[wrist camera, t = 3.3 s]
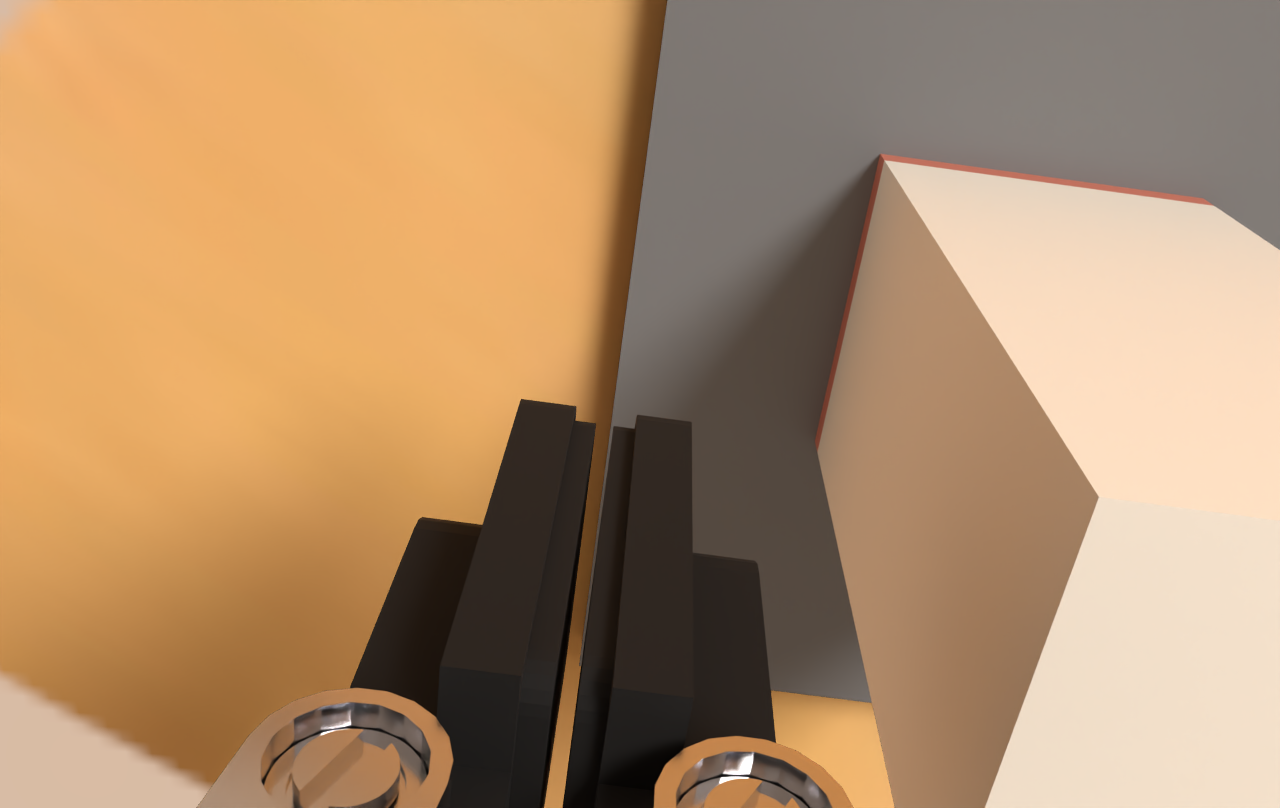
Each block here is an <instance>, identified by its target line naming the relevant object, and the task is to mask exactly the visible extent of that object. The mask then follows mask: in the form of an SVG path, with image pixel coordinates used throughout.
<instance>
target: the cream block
mask: <svg viewBox="0 0 1280 808" xmlns="http://www.w3.org/2000/svg"><path fill="white" fill-rule="evenodd" d="M815 444H816V449H817V453H818V458H819V462H820V467H821V472H822V476H823V481H824V485H825V490H826V494H827V499H828V504H829V508H830V513H831V517H832V522H833V527H834V531H835V536H836V540H837V545H838V550H839V554H840V559H841V563H842V568H843V572H844V577H845V582H846V586H847V591H848V595H849V600H850V605H851V609H852V614H853V618H854V623H855V628H856V632H857V637H858V641H859V646H860V650H861V655H862V660H863V664H864V669H865V673H866V678H867V683H868V687H869V692H870V696H871V701H872V706H873V710H874V715H875V719H876V724H877V728H878V733H879V738H880V742H881V747H882V751H883V756H884V761H885V765H886V770H887V774H888V779H889V784H890V788H891V793H892V797H893V802H894V806H895V808H1280V250H1279V249H1277V248H1276V247H1274V246H1273V245H1271V244H1270V243H1269V242H1267V241H1266V240H1264V239H1263V238H1261V237H1260V236H1258V235H1257V234H1255V233H1254V232H1252V231H1251V230H1249V229H1248V228H1246V227H1245V226H1243V225H1242V224H1240V223H1239V222H1237V221H1236V220H1234V219H1233V218H1232V217H1230V216H1229V215H1227V214H1226V213H1224V212H1223V211H1221V210H1220V209H1218V208H1217V207H1215V206H1214V205H1212V204H1211V203H1209V202H1208V201H1206V200H1205V199H1203V198H1197V197H1190V196H1182V195H1175V194H1168V193H1161V192H1153V191H1146V190H1139V189H1132V188H1125V187H1117V186H1110V185H1103V184H1096V183H1088V182H1081V181H1074V180H1067V179H1060V178H1052V177H1045V176H1038V175H1031V174H1023V173H1016V172H1009V171H1002V170H994V169H987V168H980V167H973V166H966V165H958V164H951V163H944V162H937V161H929V160H922V159H915V158H908V157H900V156H893V155H886V154H880V157H879V161H878V166H877V170H876V174H875V179H874V183H873V188H872V192H871V196H870V201H869V205H868V210H867V214H866V218H865V223H864V227H863V232H862V236H861V240H860V245H859V249H858V254H857V258H856V262H855V267H854V271H853V276H852V280H851V284H850V289H849V293H848V298H847V302H846V306H845V311H844V315H843V320H842V324H841V328H840V333H839V337H838V342H837V346H836V350H835V355H834V359H833V364H832V368H831V372H830V377H829V381H828V386H827V390H826V394H825V399H824V403H823V408H822V412H821V416H820V421H819V425H818V430H817V434H816V438H815Z"/></svg>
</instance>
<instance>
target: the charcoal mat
mask: <svg viewBox="0 0 1280 808" xmlns="http://www.w3.org/2000/svg"><path fill="white" fill-rule="evenodd" d="M880 154H886V155H893V156H900V157H908V158H915V159H922V160H929V161H937V162H944V163H951V164H958V165H966V166H973V167H980V168H987V169H994V170H1002V171H1009V172H1016V173H1023V174H1031V175H1038V176H1045V177H1052V178H1060V179H1067V180H1074V181H1081V182H1088V183H1096V184H1103V185H1110V186H1117V187H1125V188H1132V189H1139V190H1146V191H1153V192H1161V193H1168V194H1175V195H1182V196H1190V197H1197V198H1203V199H1205V200H1206V201H1208V202H1209V203H1211V204H1212V205H1214V206H1215V207H1217V208H1218V209H1220V210H1221V211H1223V212H1224V213H1226V214H1227V215H1229V216H1230V217H1232V218H1233V219H1234V220H1236V221H1237V222H1239V223H1240V224H1242V225H1243V226H1245V227H1246V228H1248V229H1249V230H1251V231H1252V232H1254V233H1255V234H1257V235H1258V236H1260V237H1261V238H1263V239H1264V240H1266V241H1267V242H1269V243H1270V244H1271V245H1273V246H1274V247H1276V248H1277V249H1279V250H1280V0H667V7H666V14H665V22H664V29H663V37H662V44H661V52H660V60H659V67H658V75H657V82H656V90H655V97H654V105H653V112H652V120H651V127H650V135H649V142H648V150H647V158H646V165H645V173H644V180H643V188H642V195H641V203H640V210H639V218H638V225H637V233H636V240H635V248H634V256H633V263H632V271H631V278H630V286H629V293H628V301H627V308H626V316H625V323H624V331H623V338H622V346H621V354H620V361H619V369H618V376H617V384H616V391H615V399H614V406H613V414H612V421H611V429H610V436H609V444H608V452H607V459H606V467H605V474H604V482H603V489H602V497H601V504H600V512H599V519H598V527H597V534H596V542H595V550H594V557H593V565H592V572H591V580H590V587H589V595H588V602H587V610H586V617H585V625H584V632H583V640H582V648H581V655H580V663H579V666H581V664H582V657H583V649H584V642H585V634H586V627H587V619H588V612H589V604H590V597H591V590H592V582H593V575H594V567H595V560H596V553H597V545H598V538H599V530H600V523H601V515H602V508H603V501H604V493H605V486H606V478H607V471H608V463H609V456H610V449H611V441H612V434H613V427H614V426H618V427H625V428H633V429H635V423H636V417H637V415H644V416H652V417H659V418H667V419H674V420H682V421H689V422H692V524H693V553H700V554H708V555H716V556H723V557H731V558H739V559H746V560H754V561H756V563H757V564H758V569H759V576H760V586H761V596H762V606H763V617H764V627H765V637H766V647H767V657H768V668H769V678H770V688H771V690H774V691H781V692H789V693H797V694H805V695H813V696H821V697H829V698H837V699H845V700H853V701H861V702H869V703H872V701H871V696H870V692H869V687H868V683H867V678H866V673H865V669H864V664H863V660H862V655H861V650H860V646H859V641H858V637H857V632H856V628H855V623H854V618H853V614H852V609H851V605H850V600H849V595H848V591H847V586H846V582H845V577H844V572H843V568H842V563H841V559H840V554H839V550H838V545H837V540H836V536H835V531H834V527H833V522H832V517H831V513H830V508H829V504H828V499H827V494H826V490H825V485H824V481H823V476H822V472H821V467H820V462H819V458H818V453H817V449H816V444H815V438H816V434H817V430H818V425H819V421H820V416H821V412H822V408H823V403H824V399H825V394H826V390H827V386H828V381H829V377H830V372H831V368H832V364H833V359H834V355H835V350H836V346H837V342H838V337H839V333H840V328H841V324H842V320H843V315H844V311H845V306H846V302H847V298H848V293H849V289H850V284H851V280H852V276H853V271H854V267H855V262H856V258H857V254H858V249H859V245H860V240H861V236H862V232H863V227H864V223H865V218H866V214H867V210H868V205H869V201H870V196H871V192H872V188H873V183H874V179H875V174H876V170H877V166H878V161H879V157H880Z"/></svg>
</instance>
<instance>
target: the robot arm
mask: <svg viewBox="0 0 1280 808" xmlns="http://www.w3.org/2000/svg"><path fill="white" fill-rule="evenodd" d="M575 419H576V406H569V405H562V404H554V403H547V402H539V401H532V400H524V399H521V401H520V404H519V407H518V410H517V414H516V417H515V420H514V424H513V427H512V430H511V433H510V437H509V440H508V443H507V447H506V450H505V453H504V456H503V460H502V463H501V466H500V470H499V473H498V476H497V479H496V483H495V486H494V489H493V493H492V496H491V499H490V503H489V506H488V509H487V512H486V516H485V519H484V522H483V525H478V524H471V523H463V522H455V521H448V520H440V519H433V518H425V517H422V518H420V519H419V520H418V522H417V524H416V526H415V528H414V530H413V533H412V535H411V538H410V540H409V543H408V545H407V547H406V550H405V552H404V555H403V557H402V560H401V562H400V565H399V567H398V570H397V572H396V575H395V577H394V580H393V582H392V585H391V587H390V590H389V592H388V595H387V597H386V600H385V602H384V605H383V607H382V609H381V612H380V614H379V617H378V619H377V622H376V624H375V627H374V629H373V632H372V634H371V637H370V639H369V642H368V644H367V647H366V649H365V652H364V654H363V657H362V659H361V662H360V664H359V667H358V669H357V671H356V674H355V676H354V679H353V681H352V684H351V686H350V689H339V690H328V691H323V692H320V693H317V694H314V695H310V696H307V697H304V698H301V699H297V700H295V701H293V702H291V703H290V704H288V705H286V706H284V707H283V708H281V709H279V710H277V711H276V712H274V713H272V714H270V715H269V716H268V717H267V718H266V719H265V720H264V721H263V722H262V723H261V724H260V725H259V726H258V727H257V728H256V729H255V730H254V731H253V732H252V733H251V734H250V735H249V736H248V737H247V739H246V740H245V742H244V743H243V744H242V746H241V747H240V749H239V750H238V751H237V753H236V754H235V755H234V757H233V758H232V760H231V761H230V762H229V764H228V765H227V766H226V768H225V769H224V771H223V772H222V773H221V775H220V776H219V777H218V779H217V780H216V782H215V783H214V784H213V786H212V787H211V788H210V790H209V791H208V793H207V794H206V795H205V797H204V798H203V800H202V801H201V802H200V804H199V805H198V807H197V808H544V804H545V798H546V791H547V784H548V778H549V771H550V764H551V758H552V751H553V744H554V738H555V731H556V724H557V718H558V711H559V705H560V698H561V691H562V685H563V678H564V671H565V664H566V657H567V649H568V642H569V634H570V626H571V618H572V610H573V602H574V594H575V586H576V579H577V571H578V563H579V555H580V547H581V539H582V531H583V523H584V515H585V507H586V500H587V492H588V484H589V476H590V468H591V460H592V452H593V444H594V436H595V428H596V424H595V423H588V422H580V421H575ZM563 808H853V806H852V804H851V802H850V801H849V799H848V797H847V795H846V793H845V791H844V790H843V788H842V787H841V786H840V785H839V784H838V783H837V782H836V781H835V780H834V779H833V778H832V777H831V776H830V775H829V774H828V772H827V771H826V770H825V769H824V768H823V767H822V766H820V765H818V764H817V763H815V762H814V761H812V760H810V759H809V758H807V757H806V756H804V755H802V754H801V753H799V752H798V751H796V750H793V749H791V748H788V747H785V746H782V745H780V744H777V743H776V739H775V729H774V719H773V709H772V698H771V688H770V678H769V668H768V657H767V647H766V637H765V627H764V617H763V606H762V596H761V586H760V576H759V569H758V564H757V563H756V561H754V560H746V559H739V558H731V557H723V556H716V555H708V554H700V553H693V524H692V422H689V421H682V420H674V419H667V418H659V417H652V416H644V415H637V417H636V423H635V429H633V428H625V427H618V426H614V427H613V434H612V441H611V449H610V456H609V463H608V471H607V478H606V486H605V493H604V501H603V508H602V515H601V523H600V530H599V538H598V545H597V553H596V560H595V567H594V575H593V582H592V590H591V597H590V604H589V612H588V619H587V627H586V634H585V642H584V649H583V657H582V664H581V672H580V679H579V687H578V694H577V702H576V710H575V717H574V725H573V733H572V740H571V748H570V755H569V763H568V771H567V778H566V786H565V794H564V801H563Z"/></svg>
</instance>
